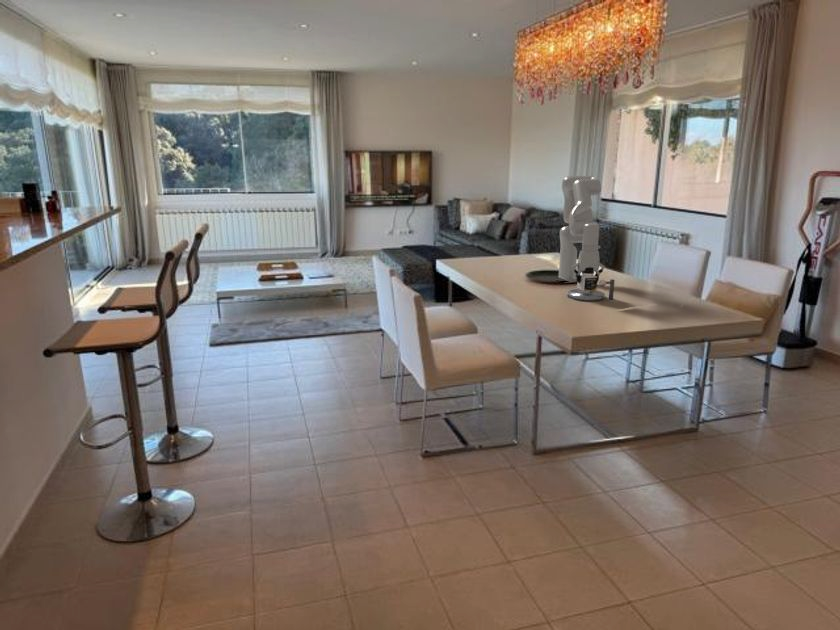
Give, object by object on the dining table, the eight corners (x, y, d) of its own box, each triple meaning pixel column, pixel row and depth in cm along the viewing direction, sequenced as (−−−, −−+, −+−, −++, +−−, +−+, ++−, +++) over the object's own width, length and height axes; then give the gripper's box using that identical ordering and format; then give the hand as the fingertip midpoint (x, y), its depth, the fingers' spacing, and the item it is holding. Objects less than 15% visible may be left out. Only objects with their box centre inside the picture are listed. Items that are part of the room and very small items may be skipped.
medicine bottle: (584, 291, 288) (585, 267, 284) (576, 288, 294) (578, 265, 291) (596, 290, 289) (598, 267, 286) (589, 287, 296) (590, 264, 293)
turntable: (594, 303, 281) (595, 291, 279) (561, 297, 292) (562, 285, 291) (610, 296, 294) (611, 284, 292) (578, 290, 305) (579, 279, 304)
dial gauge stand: (596, 300, 291) (598, 278, 287) (613, 300, 291) (615, 278, 287) (598, 302, 287) (600, 280, 284) (615, 302, 287) (617, 280, 284)
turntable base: (562, 294, 302) (562, 292, 302) (598, 293, 303) (598, 292, 302) (572, 303, 284) (572, 301, 284) (610, 303, 284) (610, 301, 284)
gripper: (604, 246, 290) (601, 280, 295) (570, 247, 290) (568, 280, 294) (609, 249, 283) (606, 283, 287) (574, 249, 282) (572, 284, 287)
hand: (587, 282), depth 291 cm, fingers closed on medicine bottle, 8 cm apart
